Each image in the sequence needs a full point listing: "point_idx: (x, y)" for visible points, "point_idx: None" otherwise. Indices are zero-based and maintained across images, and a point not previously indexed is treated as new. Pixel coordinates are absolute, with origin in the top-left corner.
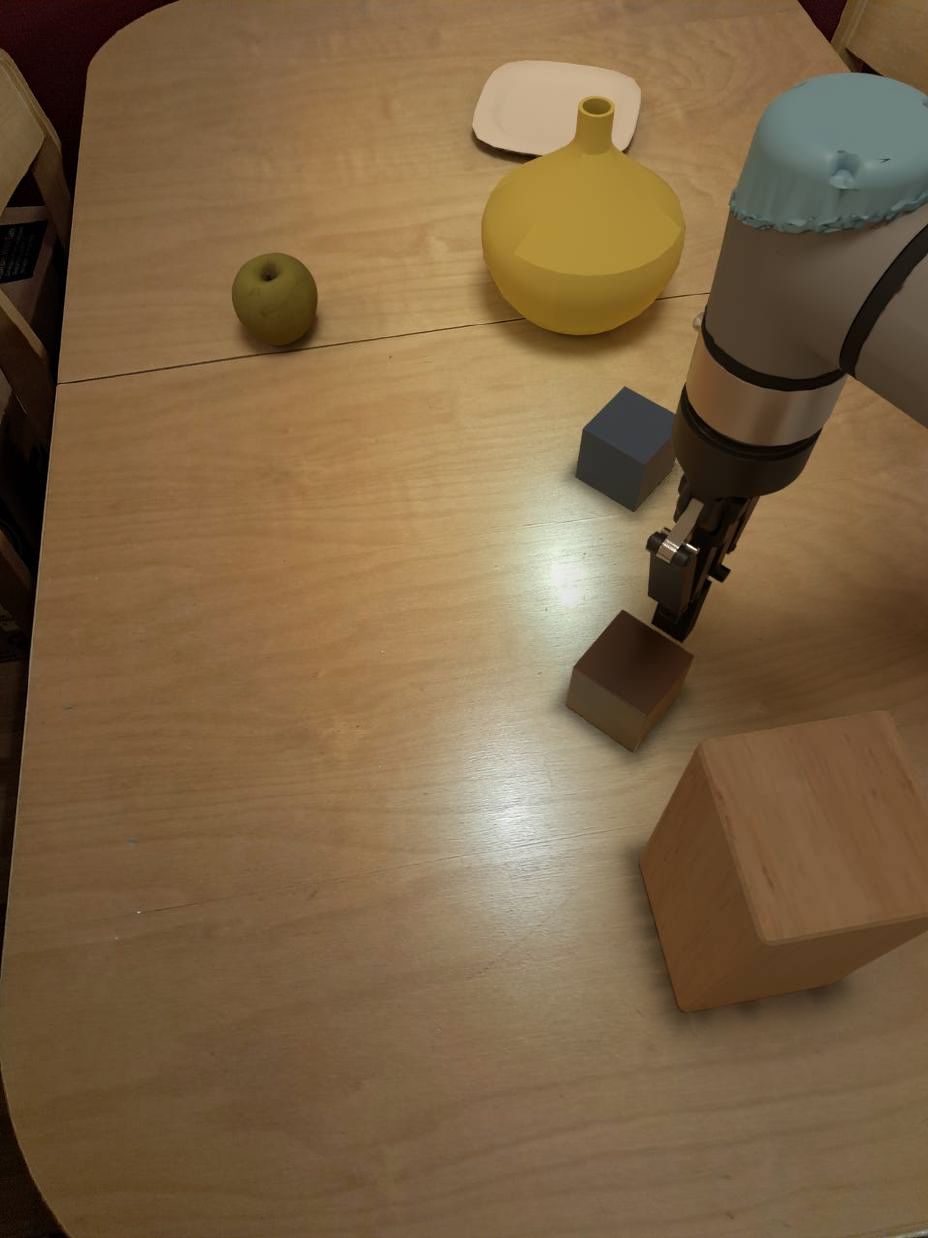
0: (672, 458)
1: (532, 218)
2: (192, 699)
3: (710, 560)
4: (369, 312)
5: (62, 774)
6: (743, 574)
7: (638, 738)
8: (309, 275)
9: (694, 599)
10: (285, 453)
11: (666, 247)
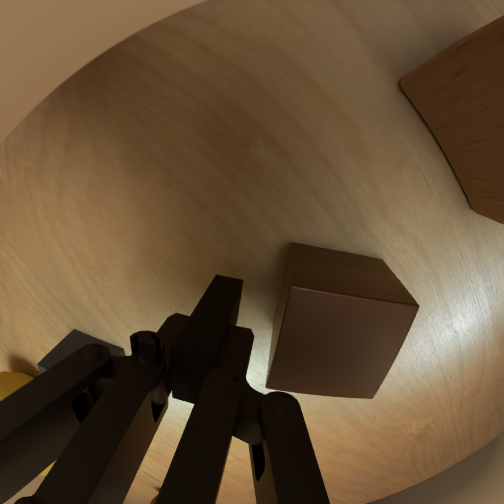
0: (67, 342)
1: (43, 473)
2: (405, 467)
3: (183, 484)
4: (137, 474)
5: (443, 466)
6: (111, 235)
7: (395, 275)
8: None
9: (234, 378)
10: (240, 492)
11: None
